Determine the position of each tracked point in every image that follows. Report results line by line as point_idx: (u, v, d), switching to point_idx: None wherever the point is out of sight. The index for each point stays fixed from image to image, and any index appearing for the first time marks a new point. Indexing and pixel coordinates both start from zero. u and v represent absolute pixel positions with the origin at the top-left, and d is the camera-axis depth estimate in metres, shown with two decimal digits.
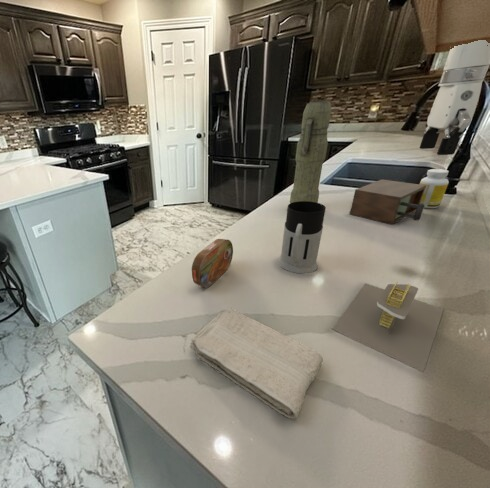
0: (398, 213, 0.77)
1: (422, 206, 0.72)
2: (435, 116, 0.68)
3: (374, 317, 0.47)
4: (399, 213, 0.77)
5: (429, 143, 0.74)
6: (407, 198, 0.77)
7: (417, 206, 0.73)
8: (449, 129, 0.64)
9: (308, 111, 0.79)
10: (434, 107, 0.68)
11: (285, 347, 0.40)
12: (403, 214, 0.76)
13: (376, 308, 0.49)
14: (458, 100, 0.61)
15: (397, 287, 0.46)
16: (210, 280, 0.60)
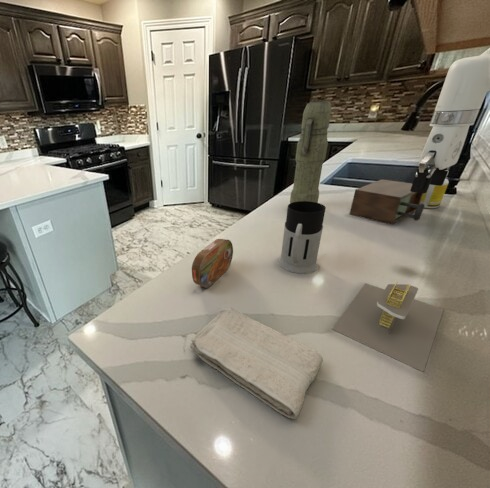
0: (398, 213, 0.77)
1: (422, 206, 0.72)
2: None
3: (374, 317, 0.47)
4: (399, 213, 0.77)
5: (435, 180, 0.71)
6: (407, 198, 0.77)
7: (417, 206, 0.73)
8: None
9: (308, 111, 0.79)
10: None
11: (285, 347, 0.40)
12: (403, 214, 0.76)
13: (376, 308, 0.49)
14: (429, 142, 0.64)
15: (397, 287, 0.46)
16: (210, 280, 0.60)
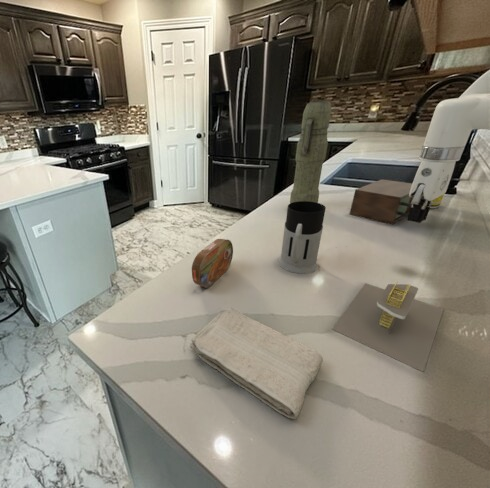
0: (398, 213, 0.77)
1: None
2: None
3: (374, 317, 0.47)
4: (399, 213, 0.77)
5: None
6: (407, 198, 0.77)
7: None
8: None
9: (308, 111, 0.79)
10: None
11: (285, 347, 0.40)
12: (403, 214, 0.76)
13: (376, 308, 0.49)
14: (419, 175, 0.67)
15: (397, 287, 0.46)
16: (210, 280, 0.60)
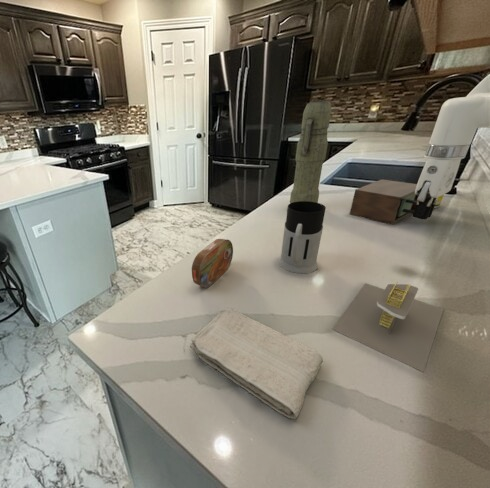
0: (403, 210, 0.78)
1: None
2: None
3: (374, 317, 0.47)
4: (405, 210, 0.78)
5: None
6: (412, 195, 0.79)
7: None
8: None
9: (308, 111, 0.79)
10: None
11: (285, 347, 0.40)
12: (408, 211, 0.77)
13: (376, 308, 0.49)
14: (424, 172, 0.69)
15: (397, 287, 0.46)
16: (210, 280, 0.60)
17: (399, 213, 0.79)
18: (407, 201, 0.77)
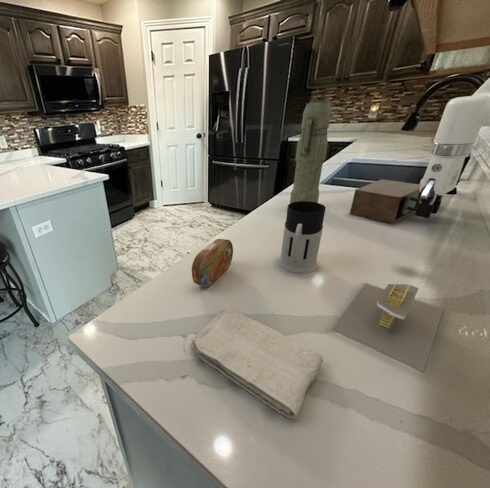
0: (408, 208, 0.79)
1: None
2: None
3: (374, 317, 0.47)
4: (409, 208, 0.79)
5: None
6: (416, 193, 0.80)
7: None
8: None
9: (308, 111, 0.79)
10: None
11: (285, 347, 0.40)
12: (413, 209, 0.79)
13: (376, 308, 0.49)
14: (429, 170, 0.70)
15: (397, 287, 0.46)
16: (210, 280, 0.60)
17: (403, 211, 0.80)
18: (411, 199, 0.78)
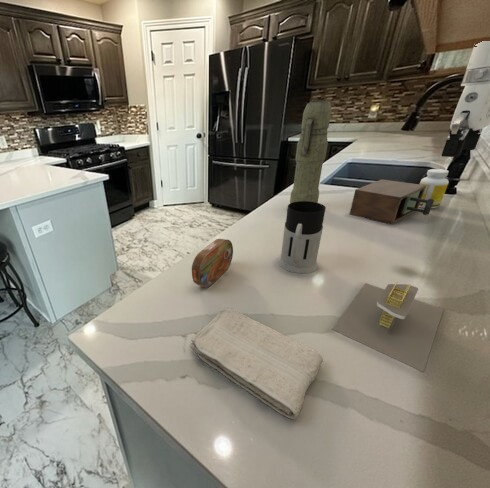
0: (408, 208, 0.79)
1: (432, 201, 0.74)
2: None
3: (374, 317, 0.47)
4: (409, 208, 0.79)
5: (467, 144, 0.69)
6: (416, 193, 0.80)
7: (427, 201, 0.75)
8: None
9: (308, 111, 0.79)
10: None
11: (285, 347, 0.40)
12: (413, 209, 0.79)
13: (376, 308, 0.49)
14: (462, 102, 0.61)
15: (397, 287, 0.46)
16: (210, 280, 0.60)
17: (403, 211, 0.80)
18: (411, 199, 0.78)
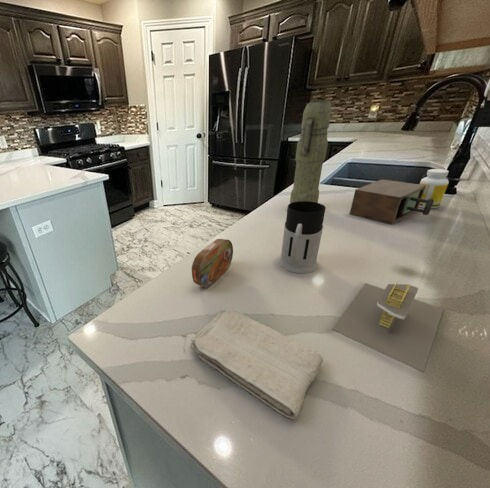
0: (408, 208, 0.79)
1: (432, 201, 0.74)
2: None
3: (374, 317, 0.47)
4: (409, 208, 0.79)
5: None
6: (416, 193, 0.80)
7: (427, 201, 0.75)
8: None
9: (308, 111, 0.79)
10: None
11: (285, 347, 0.40)
12: (413, 209, 0.79)
13: (376, 308, 0.49)
14: None
15: (397, 287, 0.46)
16: (210, 280, 0.60)
17: (403, 211, 0.80)
18: (411, 199, 0.78)
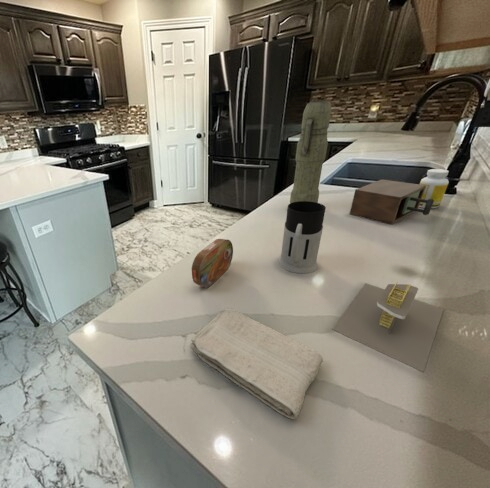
0: (408, 208, 0.79)
1: (432, 201, 0.74)
2: None
3: (374, 317, 0.47)
4: (409, 208, 0.79)
5: None
6: (416, 193, 0.80)
7: (427, 201, 0.75)
8: None
9: (308, 111, 0.79)
10: None
11: (285, 347, 0.40)
12: (413, 209, 0.79)
13: (376, 308, 0.49)
14: None
15: (397, 287, 0.46)
16: (210, 280, 0.60)
17: (403, 211, 0.80)
18: (411, 199, 0.78)
